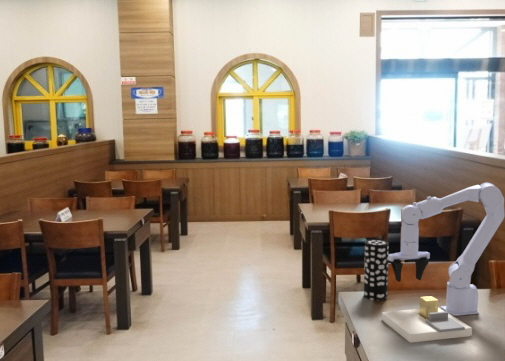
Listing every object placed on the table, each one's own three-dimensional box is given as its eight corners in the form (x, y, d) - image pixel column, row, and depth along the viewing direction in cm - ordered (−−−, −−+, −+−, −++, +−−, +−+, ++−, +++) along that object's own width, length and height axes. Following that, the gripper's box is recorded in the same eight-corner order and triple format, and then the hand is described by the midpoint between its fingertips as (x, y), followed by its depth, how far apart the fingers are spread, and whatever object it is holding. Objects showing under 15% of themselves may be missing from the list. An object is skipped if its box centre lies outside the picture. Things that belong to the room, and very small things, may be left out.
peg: (430, 320, 171) (431, 296, 170) (437, 324, 167) (438, 300, 166) (419, 321, 170) (419, 297, 169) (425, 326, 166) (426, 301, 165)
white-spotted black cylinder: (383, 302, 188) (384, 246, 186) (360, 297, 192) (361, 243, 190) (390, 295, 195) (391, 241, 193) (368, 291, 199) (369, 238, 197)
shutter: (449, 319, 164) (449, 310, 164) (464, 329, 157) (465, 320, 156) (425, 322, 163) (425, 313, 162) (440, 332, 155) (440, 322, 155)
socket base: (437, 314, 176) (437, 307, 176) (471, 335, 159) (471, 327, 158) (381, 319, 172) (381, 312, 171) (410, 342, 154) (410, 334, 154)
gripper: (422, 237, 186) (421, 275, 188) (384, 239, 183) (383, 278, 184) (433, 241, 179) (432, 281, 181) (394, 244, 176) (393, 284, 177)
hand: (408, 280), depth 182 cm, fingers open, 7 cm apart
